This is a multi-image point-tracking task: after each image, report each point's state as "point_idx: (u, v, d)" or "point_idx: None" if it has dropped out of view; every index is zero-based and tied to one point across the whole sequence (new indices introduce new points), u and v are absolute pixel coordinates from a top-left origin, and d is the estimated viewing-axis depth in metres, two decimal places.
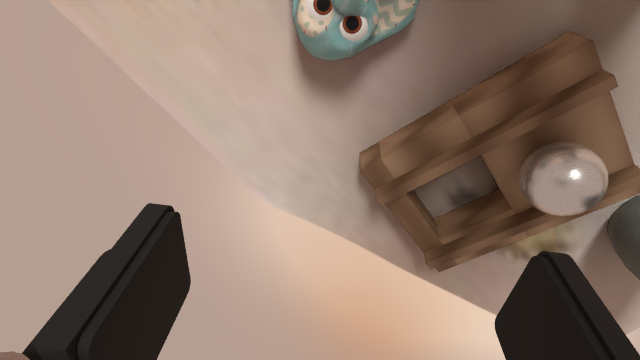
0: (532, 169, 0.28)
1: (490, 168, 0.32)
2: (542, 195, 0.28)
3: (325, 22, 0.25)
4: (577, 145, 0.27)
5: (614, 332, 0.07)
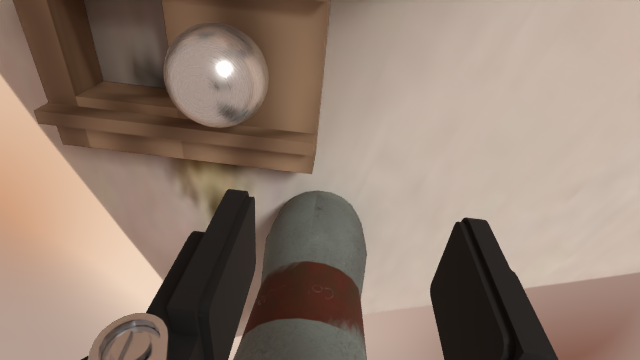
0: (183, 31, 0.20)
1: (167, 28, 0.23)
2: (168, 65, 0.19)
3: None
4: (250, 40, 0.20)
5: (508, 281, 0.08)
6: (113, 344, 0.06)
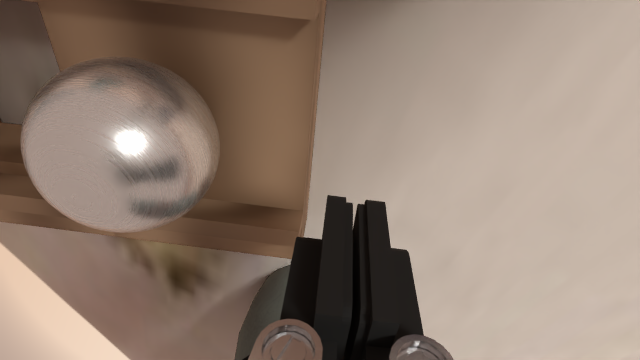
0: (54, 76, 0.11)
1: (58, 58, 0.14)
2: (21, 141, 0.10)
3: None
4: (179, 90, 0.11)
5: (383, 257, 0.08)
6: (271, 349, 0.06)
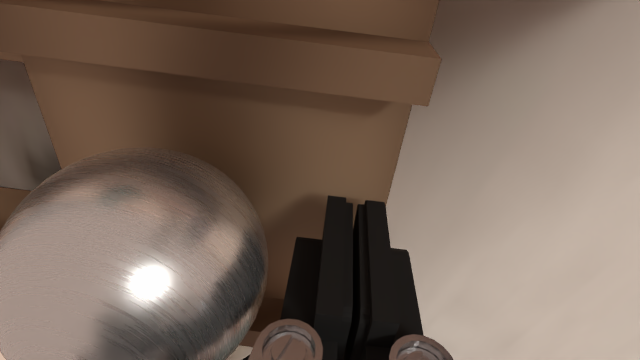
0: (39, 188, 0.07)
1: (51, 131, 0.11)
2: None
3: None
4: (220, 204, 0.08)
5: (383, 257, 0.08)
6: (271, 349, 0.06)
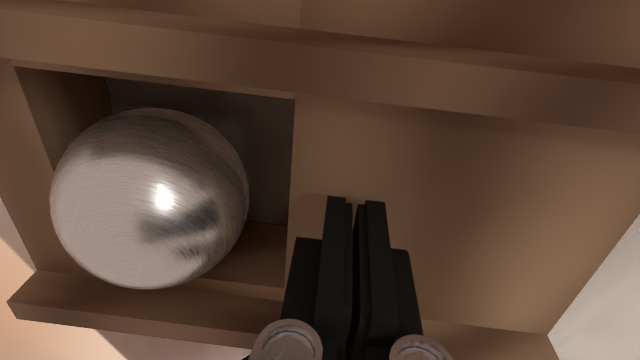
0: (172, 120, 0.11)
1: (295, 165, 0.10)
2: None
3: None
4: None
5: (383, 257, 0.08)
6: (271, 349, 0.06)
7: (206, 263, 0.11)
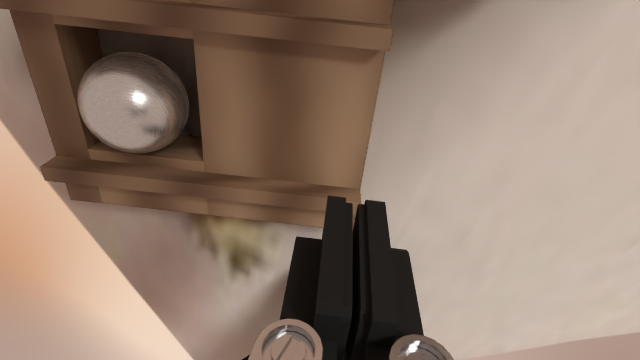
0: (143, 55, 0.21)
1: (198, 76, 0.20)
2: None
3: None
4: (81, 79, 0.20)
5: (383, 257, 0.08)
6: (271, 349, 0.06)
7: (168, 131, 0.21)
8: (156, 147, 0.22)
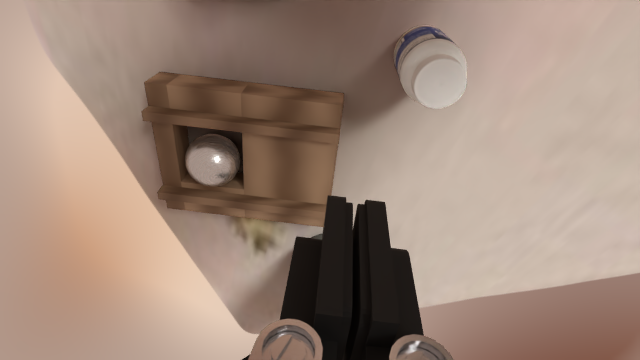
0: (218, 136, 0.39)
1: (243, 148, 0.39)
2: None
3: None
4: (188, 152, 0.39)
5: (383, 257, 0.08)
6: (271, 349, 0.06)
7: (233, 174, 0.40)
8: (226, 182, 0.41)
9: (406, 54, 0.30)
